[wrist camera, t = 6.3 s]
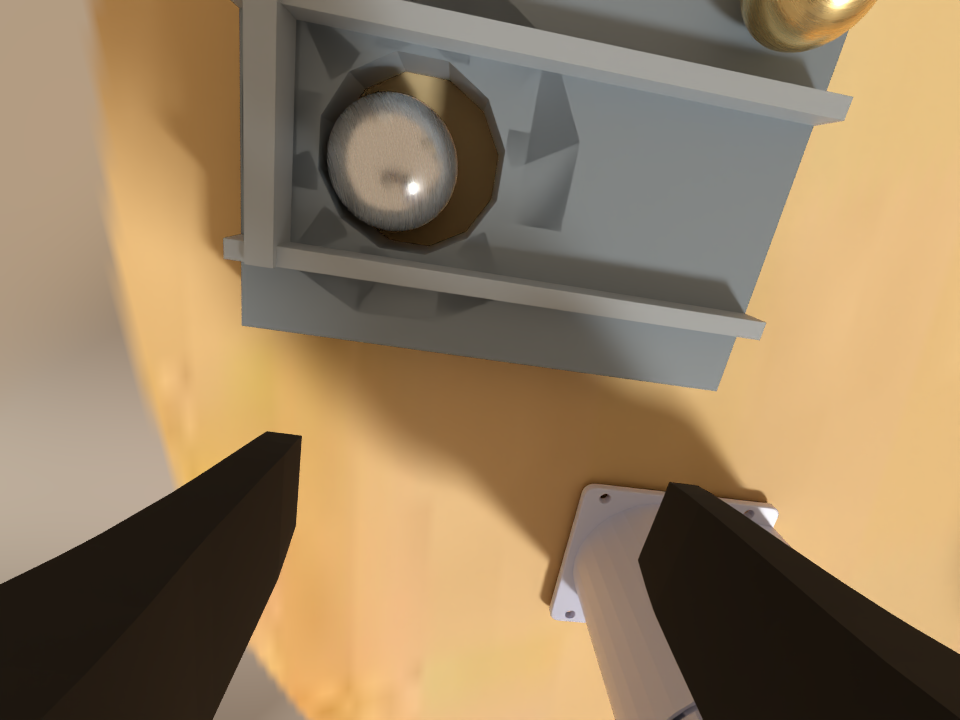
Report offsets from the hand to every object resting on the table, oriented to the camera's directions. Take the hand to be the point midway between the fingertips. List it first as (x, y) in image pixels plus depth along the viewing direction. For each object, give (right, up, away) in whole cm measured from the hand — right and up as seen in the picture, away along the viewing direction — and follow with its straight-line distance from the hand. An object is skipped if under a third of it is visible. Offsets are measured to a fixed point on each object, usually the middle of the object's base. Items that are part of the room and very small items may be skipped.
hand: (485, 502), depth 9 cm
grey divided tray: (+1, +10, +7) cm, 13 cm away
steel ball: (-3, +9, +6) cm, 11 cm away
